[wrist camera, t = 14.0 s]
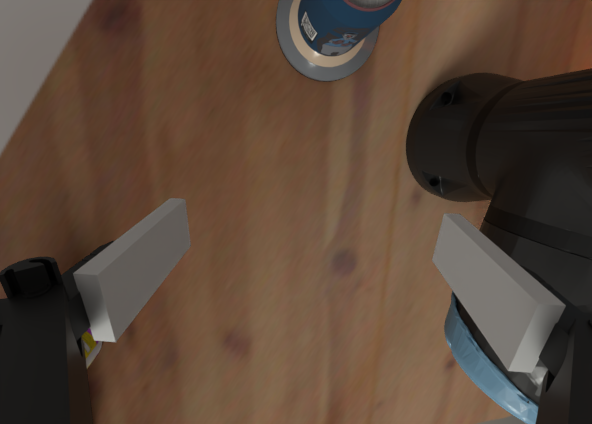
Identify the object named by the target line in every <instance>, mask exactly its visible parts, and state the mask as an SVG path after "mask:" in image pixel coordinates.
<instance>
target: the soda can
mask: <svg viewBox="0 0 592 424" xmlns="http://www.w3.org/2000/svg"><path fill="white" fill-rule="evenodd" d="M401 1H402V0H301V1H300V4H299V8H298V25H299V29H300V32H301V35H302V37H303V39H304V40H305V42H306V43H307V45H308V46H309V47H310V48H311V49H313V50H314V51H315V52H317V53H319V54H321V55H324V56H331V57H332V56H339V55H342V54H345V53H347V52H348V51H350V50H351V49H352V48H353V47H355V46H356V45H357V44H358V43H359V42H360V41H362V40H363V39H364V38H365V37H366V36H368V35H369V34H370V33H371V32H372V31H373V30H375V29H376V28H377V27H378V26H379V25H380V24H382V23H383V22H384V21H385V20H386V19H387V18H389V17H390V16H391V15H392V14H393V13H394V11H395V10H396V9H397V7H398V6H399V4H400V3H401Z"/></svg>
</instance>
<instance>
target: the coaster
mask: <svg viewBox="0 0 592 424" xmlns="http://www.w3.org/2000/svg"><path fill="white" fill-rule="evenodd" d="M300 1H301V0H279V3H278V8H277V15H276V33H277V38H278V42H279V45H280V48H281V50H282V53H283V54H284V56H285V58H286V59H287V61H288V62H289V63H290V65H291V66H292V67H293V68H294V69H295V70H296V71H298V72H299V73H300V74H302V75H303V76H305V77H307V78H310V79H312V80H316V81H322V82H331V81H336V80H340V79H342V78H345V77H346V76H348V75H350V74H352V73H353V72H355V71H356V70H358V69H359V68H360V67H361V66H362V65H363V64H364V63H365V61H366V60H367V59H368V57H369V56H370V54H371V52H372V50H373V48H374V46H375V43H376V41H377V37H378V32H379V26H378V27H377V28H376V29H375V30H373V31H372V32H371V33H370V34H369V35H368V36H366V37H365V38H364V39H363V40H362V41H360V42H359V43H358V44H357V45H356V46H355V47H353V48H352V49H351V50H350V51H348V52H347V53H345V54H342V55H339V56H332V57H331V56H324V55H321V54H319V53H317V52H315V51H314V50H313V49H311V48H310V47H309V46H308V45H307V43H306V42H305V40H304V39H303V37H302V35H301V32H300V29H299V25H298V8H299V4H300Z"/></svg>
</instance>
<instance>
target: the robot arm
mask: <svg viewBox="0 0 592 424" xmlns="http://www.w3.org/2000/svg"><path fill="white" fill-rule="evenodd" d="M406 155H407V161H408V165H409V168H410V170H411V173H412V175H413V176H414V178H415V179H416V181H417V182H418V183H419V184H420V185H421V186H422V187H423V188H424V189H425V190H427V191H428V192H430V193H431V194H434V195H436V196H439V197H441V198H444V199H447V200H451V201H457V202H470V201H481V200H491V202H490V205H489V208H488V210H487V213H486V215H485V217H484V220H483V222H482V225H481V227H480V230H478V229H477V228H476V227H474V226H473V225H472V224H471V223H470V222H469V221H467V220H466V219H465V218H464V217H463V216H462V215H460V214H450V213H444V216H443V220H442V224H441V228H440V232H439V235H438V239H437V243H436V247H435V251H434V255H433V259H432V261H433V262H434V264H435V265H436V267H437V268H438V270H439V271H440V273H441V274H442V276H443V277H444V279H445V280H446V281H447V283H448V284H449V286H450V287H451V289H452V290H453V291H452V295H451V305H450V308H449V311H448V314H447V317H446V320H445V326H444V330H445V337H446V340H447V343H448V345H449V347H450V348H451V350H452V354H453V356H454V358H455V359H456V361H457V362H458V364H459V365H460V366H461V368H462V369H463V370H464V372H465V373H466V374H467V375H468V376H469V378H470V379H471V380H472V381H473V382H474V383H475V384H476V385H477V386H478V387H479V388H480V389H481V390H482V391H483V392H484V393H485V394H487V395H488V396H489V397H490V398H491V399H492V400H494V401H495V402H496V403H497V404H499V405H500V406H501V407H502V408H504V409H505V410H507V411H508V412H509V413H511V414H512V415H514V416H515V417H517V418H518V419H520V420H522V421H523V422H525V423H527V424H592V69H586V70H581V71H576V72H570V73H565V74H560V75H554V76H549V77H544V78H538V79H534V80H528V81H523V80H519V79H515V78H510V77H506V76H502V75H498V74H493V73H474V74H469V75H465V76H461V77H458V78H454V79H451V80H449V81H447V82H445V83H443V84H442V85H440V86H438V87H437V88H436V89H434V90H433V91H432V92H431V93H430V94H429V95H428V96H427V97H426V98H425V99H424V100H423V102H422V103H421V104H420V106H419V107H418V109H417V110H416V112H415V114H414V116H413V118H412V121H411V123H410V126H409V130H408V134H407V140H406ZM190 246H191V244H190V236H189V227H188V219H187V211H186V202H185V199H176V198H170V199H169V200H167V201H166V202H165V203H164V204H162V205H161V206H160V207H158V208H157V209H156V210H154V211H153V212H152V213H151V214H149V215H148V216H147V217H145V218H144V219H143V220H142V221H140V222H139V223H138V224H136V225H135V226H134V227H132V228H131V229H130V230H129V231H127V232H126V233H125V234H123V235H122V236H121V237H120V238H118V239H117V240H116V241H111V242H109V243H107V244H105V245H102V246H100V247H99V248H97V249H96V250H94V251H93V252H92V253H90V255H88V256H86V257H85V258H84V259H82V261H80V262H78V263H77V264H76V265H74V266H73V267H72V268H70V269H69V270H68V271H66V272H65V273H64V274H62V275H61V274H60V271H59V268H58V265H57V262H56V261H55V259H54V258H51V257H36V258H30V259H26V260H23V261H19V262H17V263H15V264H12V265H10V266H8V267H7V268H5V269H4V270H2V271H1V272H0V282H1V284H2V286H3V288H4V291H5V293H6V295H7V297H8V298H5V299H0V424H93V419H92V410H91V401H90V392H89V384H88V375H87V366H86V357H85V348H84V343H83V340H82V337H81V336H82V335H83V334H84V333H85V332H86V331H87V330H88V329H89V328H90V329H91V332H92V336H93V339H94V341H108V342H116V341H117V340H118V339H119V337H120V336H121V335H122V333H123V332H124V331H125V330H126V328H127V327H128V326H129V324H130V323H131V322H132V321H133V319H134V318H135V317H136V315H137V314H138V313H139V312H140V310H141V309H142V308H143V306H144V305H145V304H146V303H147V301H148V300H149V299H150V297H151V296H152V295H153V294H154V292H155V291H156V290H157V288H158V287H159V286H160V285H161V283H162V282H163V281H164V279H165V278H166V277H167V276H168V274H169V273H170V272H171V270H172V269H173V268H174V267H175V265H176V264H177V263H178V261H179V260H180V259H181V258H182V256H183V255H184V254H185V252H186V251H187V250H188V249H189V247H190Z"/></svg>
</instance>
